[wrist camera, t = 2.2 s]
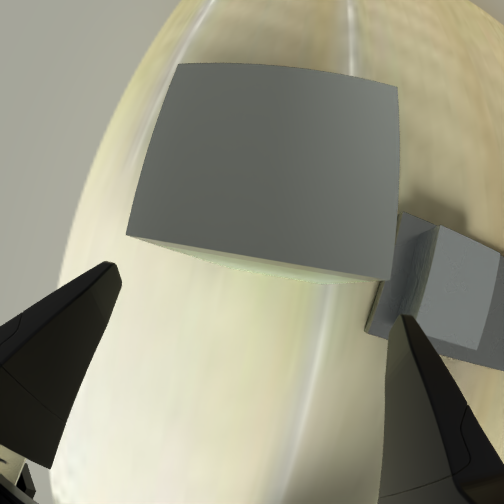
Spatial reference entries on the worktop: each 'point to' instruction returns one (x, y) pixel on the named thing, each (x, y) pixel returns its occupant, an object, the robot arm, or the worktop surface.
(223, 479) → the worktop surface
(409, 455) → the robot arm
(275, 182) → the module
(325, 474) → the worktop surface
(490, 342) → the rail
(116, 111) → the worktop surface
